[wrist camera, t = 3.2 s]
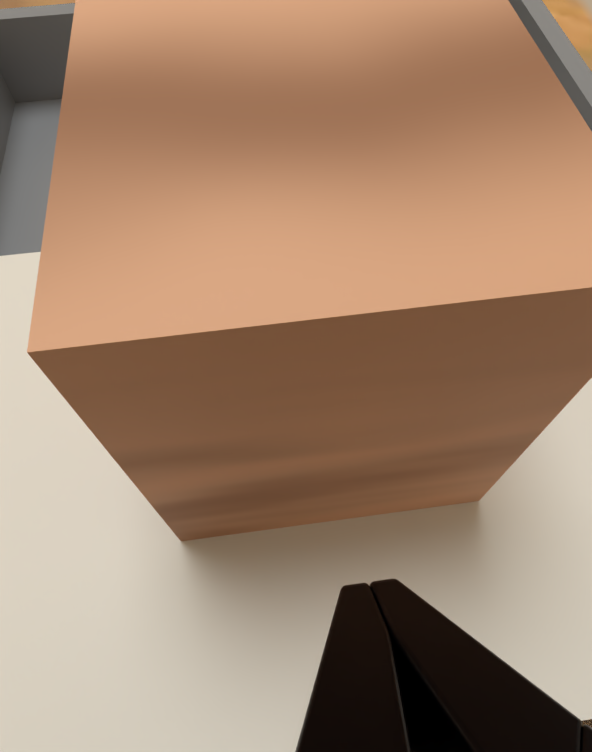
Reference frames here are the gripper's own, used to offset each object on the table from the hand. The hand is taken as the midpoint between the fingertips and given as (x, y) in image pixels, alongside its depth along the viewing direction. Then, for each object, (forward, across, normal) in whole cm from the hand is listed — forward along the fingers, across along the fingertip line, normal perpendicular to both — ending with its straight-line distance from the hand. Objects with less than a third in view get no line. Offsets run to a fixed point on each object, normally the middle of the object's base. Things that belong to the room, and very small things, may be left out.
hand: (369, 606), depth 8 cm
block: (+7, 0, -2) cm, 7 cm away
